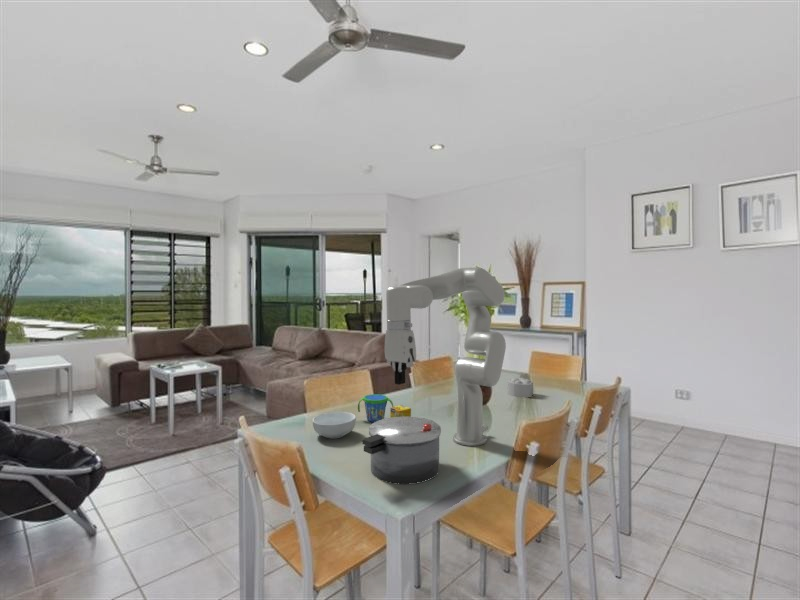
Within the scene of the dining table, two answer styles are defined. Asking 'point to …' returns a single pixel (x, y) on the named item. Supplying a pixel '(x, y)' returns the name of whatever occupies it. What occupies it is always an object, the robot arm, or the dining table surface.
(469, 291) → the robot arm
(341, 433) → the cereal bowl
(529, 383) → the lumpy-topped squat cylinder
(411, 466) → the cooker
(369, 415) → the snack cup
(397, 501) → the dining table surface
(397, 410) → the supplement box
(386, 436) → the lid
